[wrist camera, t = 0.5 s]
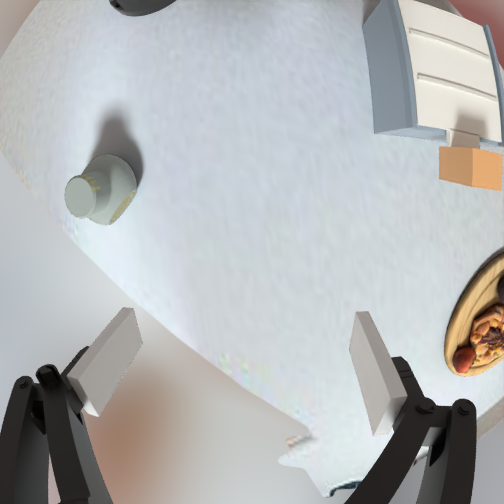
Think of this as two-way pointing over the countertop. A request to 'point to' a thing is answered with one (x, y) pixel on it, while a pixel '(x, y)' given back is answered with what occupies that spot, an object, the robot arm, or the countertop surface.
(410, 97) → the tub
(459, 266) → the countertop surface
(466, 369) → the wooden plate with food
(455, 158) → the lid
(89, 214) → the air freshener
